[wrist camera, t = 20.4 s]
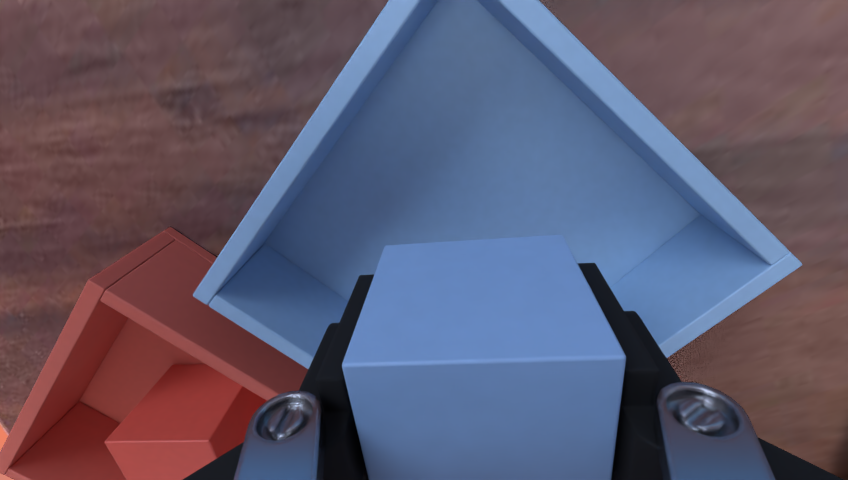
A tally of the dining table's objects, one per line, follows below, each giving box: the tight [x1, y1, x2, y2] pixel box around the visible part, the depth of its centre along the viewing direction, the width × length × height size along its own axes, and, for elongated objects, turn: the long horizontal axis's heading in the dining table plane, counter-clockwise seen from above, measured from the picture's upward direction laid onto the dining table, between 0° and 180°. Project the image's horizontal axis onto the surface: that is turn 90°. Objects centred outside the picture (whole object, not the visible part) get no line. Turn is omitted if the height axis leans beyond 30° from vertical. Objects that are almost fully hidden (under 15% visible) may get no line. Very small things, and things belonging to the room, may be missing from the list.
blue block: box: [342, 235, 626, 480], centre depth 10 cm, size 4×4×4 cm
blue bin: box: [193, 0, 802, 369], centre depth 15 cm, size 13×13×4 cm
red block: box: [105, 364, 267, 480], centre depth 20 cm, size 4×4×4 cm
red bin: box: [0, 227, 308, 480], centre depth 20 cm, size 13×13×4 cm
